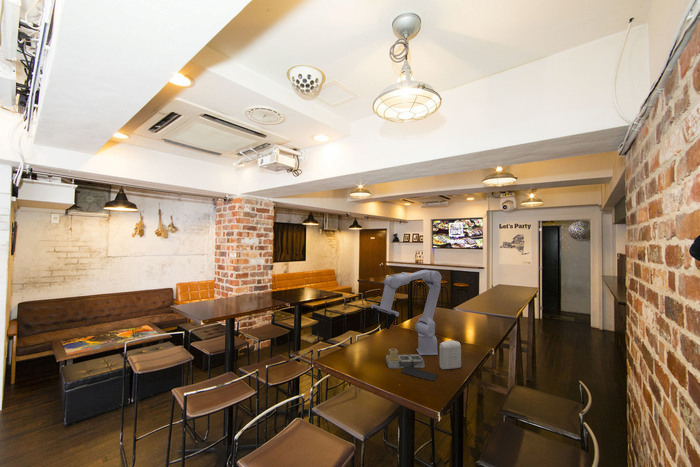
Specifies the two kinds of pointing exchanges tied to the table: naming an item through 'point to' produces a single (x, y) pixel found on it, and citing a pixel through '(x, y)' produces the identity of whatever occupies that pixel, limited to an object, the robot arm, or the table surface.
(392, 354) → the tan block with hole
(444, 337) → the table surface
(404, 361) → the slotted metal bracket
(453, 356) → the photo printer
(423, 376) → the phone
